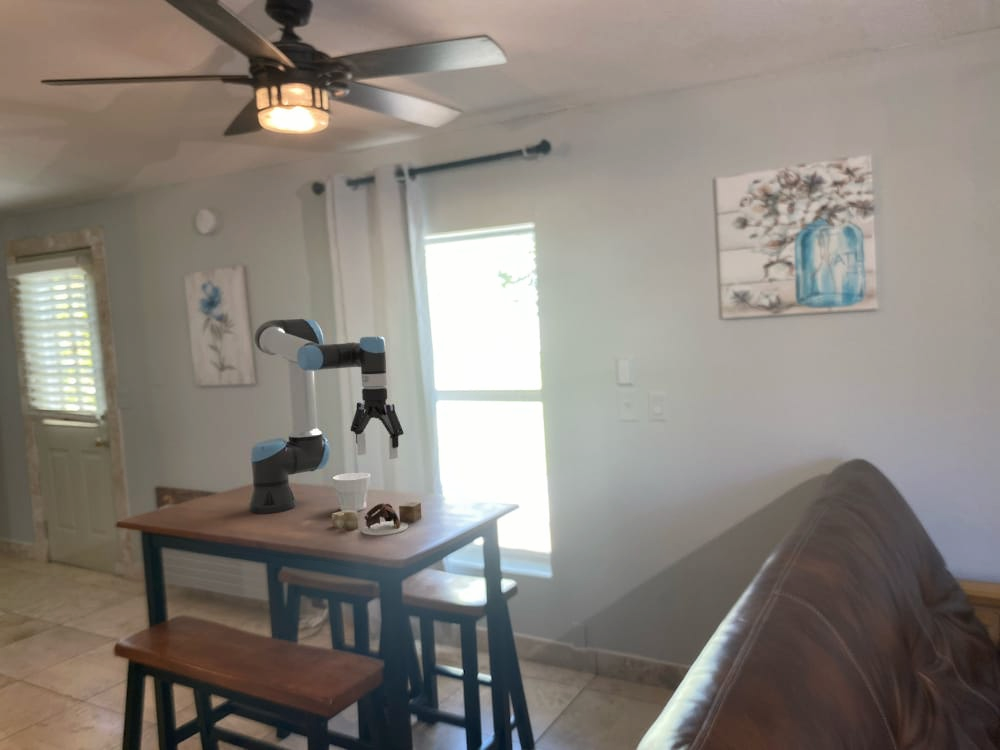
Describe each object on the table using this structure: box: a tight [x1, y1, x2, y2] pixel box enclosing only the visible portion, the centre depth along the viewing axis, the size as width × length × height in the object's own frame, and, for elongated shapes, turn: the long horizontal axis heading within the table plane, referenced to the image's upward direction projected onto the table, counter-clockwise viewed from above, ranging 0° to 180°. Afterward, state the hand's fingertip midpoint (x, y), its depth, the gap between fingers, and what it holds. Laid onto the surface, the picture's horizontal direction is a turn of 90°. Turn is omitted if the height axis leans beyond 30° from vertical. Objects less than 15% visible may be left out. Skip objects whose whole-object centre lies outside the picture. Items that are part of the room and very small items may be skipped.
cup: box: [332, 472, 371, 512], centre depth 245 cm, size 12×12×11 cm
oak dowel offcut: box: [344, 510, 359, 531], centre depth 220 cm, size 4×4×5 cm
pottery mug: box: [364, 502, 400, 529], centre depth 218 cm, size 12×10×8 cm
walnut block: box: [398, 501, 422, 523], centre depth 227 cm, size 5×5×5 cm
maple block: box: [331, 510, 351, 529], centre depth 225 cm, size 4×6×4 cm, turn 135°
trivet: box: [360, 520, 409, 537], centre depth 218 cm, size 14×14×1 cm
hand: (377, 456), depth 223 cm, fingers open, 13 cm apart
